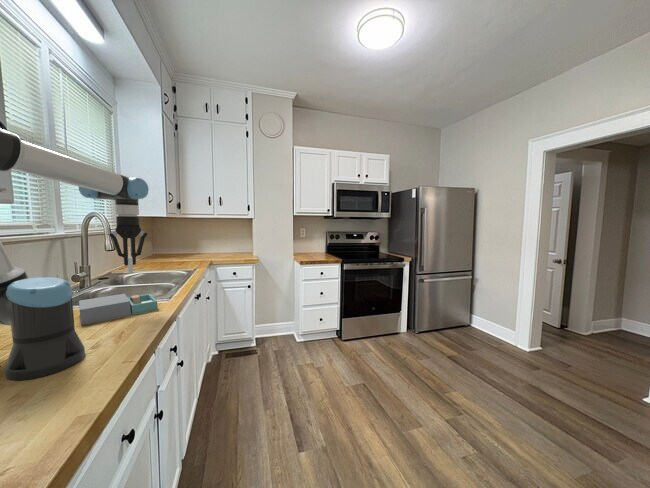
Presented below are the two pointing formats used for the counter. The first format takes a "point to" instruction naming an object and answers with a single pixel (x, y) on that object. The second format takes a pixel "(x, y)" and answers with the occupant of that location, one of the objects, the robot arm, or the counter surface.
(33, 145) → the robot arm
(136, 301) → the terracotta tile
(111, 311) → the grey flat block
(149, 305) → the bin
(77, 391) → the counter surface
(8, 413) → the counter surface
